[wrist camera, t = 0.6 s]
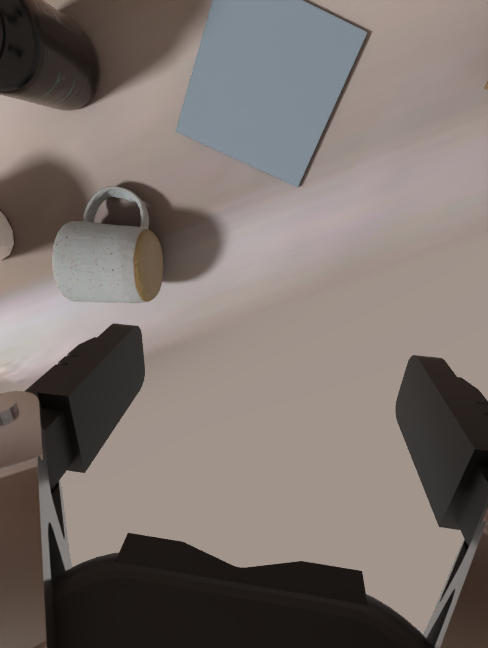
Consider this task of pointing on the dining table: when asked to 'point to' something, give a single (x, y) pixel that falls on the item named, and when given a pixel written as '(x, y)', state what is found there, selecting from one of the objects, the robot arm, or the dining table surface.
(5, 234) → the white cup
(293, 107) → the slate mat
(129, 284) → the ceramic mug
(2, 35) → the supplement bottle
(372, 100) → the dining table surface
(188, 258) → the dining table surface
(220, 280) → the dining table surface
